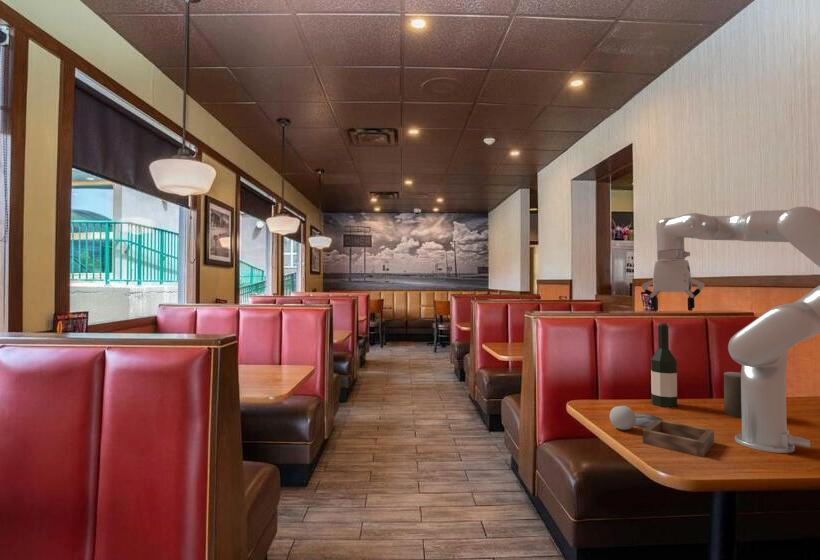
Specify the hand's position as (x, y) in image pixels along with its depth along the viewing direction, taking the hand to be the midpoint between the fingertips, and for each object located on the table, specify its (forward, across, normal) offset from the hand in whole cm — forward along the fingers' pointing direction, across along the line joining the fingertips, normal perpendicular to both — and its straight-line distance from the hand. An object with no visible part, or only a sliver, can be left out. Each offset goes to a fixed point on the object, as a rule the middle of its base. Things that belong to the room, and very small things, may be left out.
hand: (672, 310), depth 136 cm
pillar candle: (+36, -14, -25) cm, 46 cm away
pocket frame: (+36, -4, +20) cm, 41 cm away
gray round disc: (+36, +9, +5) cm, 37 cm away
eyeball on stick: (+33, +7, +7) cm, 35 cm away
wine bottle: (+36, +8, -21) cm, 42 cm away
